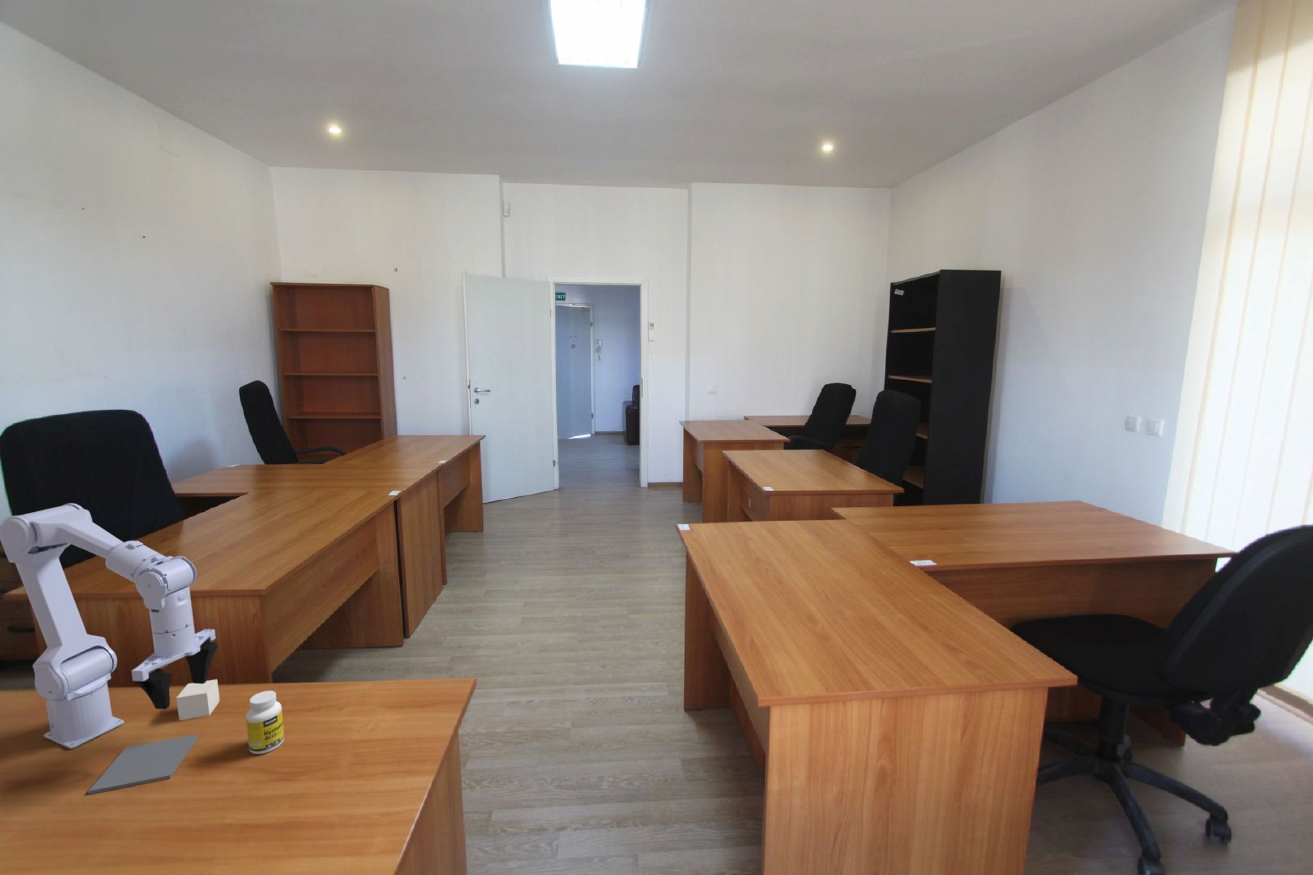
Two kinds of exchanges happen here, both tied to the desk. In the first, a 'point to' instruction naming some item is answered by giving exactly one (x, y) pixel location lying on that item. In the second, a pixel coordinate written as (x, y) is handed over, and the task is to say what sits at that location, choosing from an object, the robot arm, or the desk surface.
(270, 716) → the supplement bottle
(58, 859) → the desk surface
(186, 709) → the cube
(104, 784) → the mat
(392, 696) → the desk surface
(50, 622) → the robot arm
